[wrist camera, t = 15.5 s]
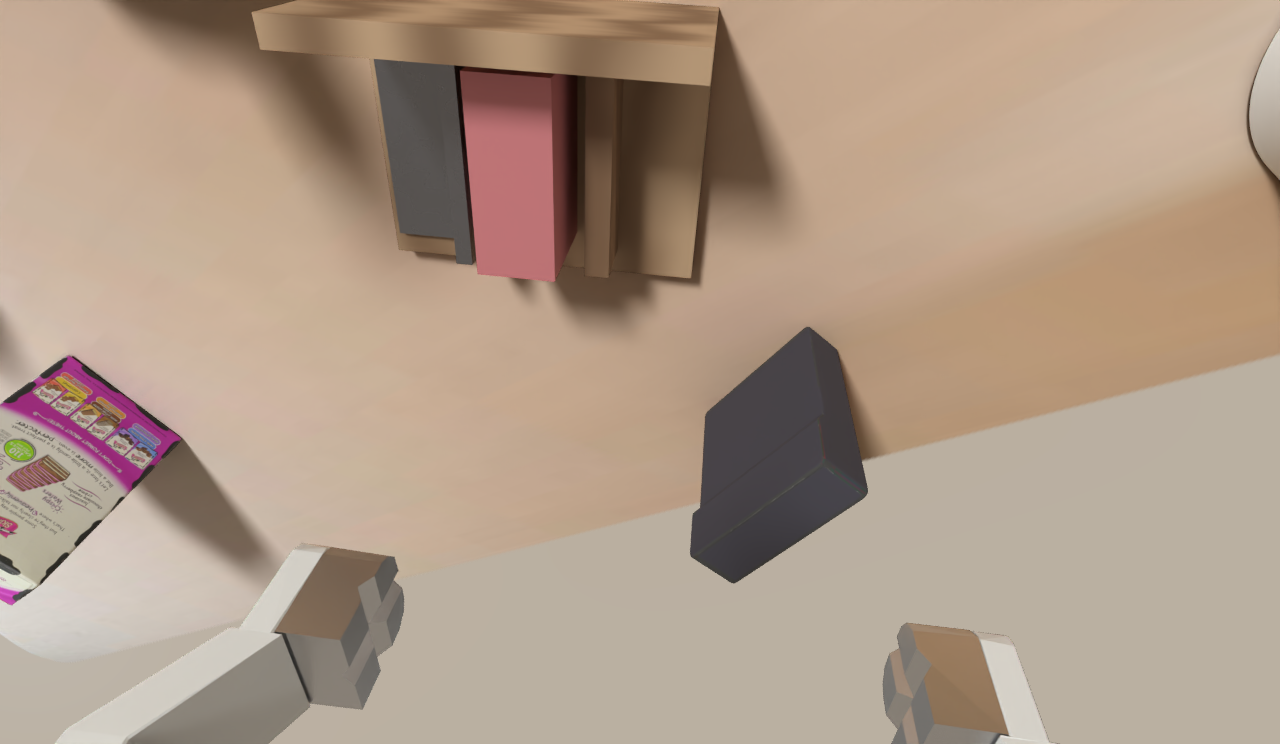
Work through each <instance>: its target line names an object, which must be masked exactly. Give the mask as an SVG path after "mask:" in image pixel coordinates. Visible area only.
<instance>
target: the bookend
mask: <svg viewBox="0 0 1280 744" xmlns="http://www.w3.org/2000/svg"><path fill="white" fill-rule="evenodd" d="M374 65H375V71H376V78H377V84H378V91H379V97H380V104H381V111H382V117H383V124H384V130H385V137H386V143H387V150H388V156H389V163H390V170H391V176H392V183H393V189H394V196H395V202H396V209H397V216H398V222H399V229H400V233H405V234H415V235H426V236H436V237H446V238H454V243H455V252H456V262H457V263H459V264H469V265H473V263H474V262H475V260H476V249H475V238H474V226H473V215H472V204H471V192H470V181H469V170H468V158H467V147H466V135H465V124H464V113H463V101H462V90H461V79H460V70H462V69H463V68H465V67H466V66H456V65H444V64H432V63H419V62H407V61H394V60H382V59H374Z"/></svg>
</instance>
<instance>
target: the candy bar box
mask: <svg viewBox="0 0 1280 744" xmlns="http://www.w3.org/2000/svg"><path fill="white" fill-rule="evenodd" d="M180 440H181V438H180V437H179V436H178V435H177V434H176V433H174V432H173V431H171V430H170V429H169V428H167V427H166V426H165V425H163V424H162V423H161V422H159V421H158V420H157V419H155V418H154V417H153V416H151V415H150V414H148V413H147V412H146V411H145V410H143V409H142V408H140V407H139V406H138V405H136V404H135V403H134V402H132V401H131V400H130V399H128V398H127V397H126V396H124V395H123V394H122V393H120V392H119V391H117V390H116V389H115V388H113V387H112V386H111V385H109V384H108V383H107V382H105V381H104V380H102V379H101V378H100V377H98V376H97V375H96V374H94V373H93V372H92V371H90V370H89V369H87V368H86V367H85V366H83V365H82V364H81V363H79V362H78V361H77V360H75V359H74V358H73V357H71V356H69V355H68V356H66V357H64V358H63V359H61V360H60V361H58V362H57V363H55V364H54V365H53V366H51V367H50V368H49V369H47V370H46V371H44V372H43V373H42V374H40V375H39V376H38V377H36V378H35V379H33V380H32V381H31V382H29V383H28V384H27V385H25V386H24V387H22V388H21V389H20V390H18V391H17V392H15V393H14V394H13V395H11V396H10V397H9V398H7V399H6V400H5V401H3V402H2V403H0V600H2V601H4V602H6V603H7V604H9V605H13V604H14V603H15V602H17V601H18V600H20V599H21V598H22V597H24V596H26V595H27V594H28V593H30V592H31V591H32V590H34V589H35V588H37V587H38V586H39V585H41V584H42V583H43V582H44V581H45V580H46V578H47V577H48V576H49V575H50V574H51V573H52V572H53V571H54V570H55V569H56V568H57V567H58V566H59V565H60V564H61V563H62V562H63V561H64V560H65V559H66V558H67V557H68V556H69V555H70V554H71V553H72V552H73V551H74V550H75V549H76V548H77V546H78V545H79V544H80V543H81V542H82V541H83V540H84V539H85V538H86V537H87V536H88V535H89V534H90V533H91V532H92V531H93V530H94V529H95V528H96V527H97V526H98V525H99V524H100V523H101V522H102V521H103V520H104V519H105V518H106V517H107V516H108V515H109V513H111V512H112V511H113V510H114V509H115V508H116V506H117V505H118V504H119V503H120V502H121V501H122V500H123V499H124V498H125V497H126V496H127V495H128V494H129V493H130V492H131V491H132V490H133V489H134V488H135V487H136V486H137V485H138V484H139V483H140V482H141V481H142V480H143V479H144V478H145V477H146V476H147V475H148V474H149V473H150V472H151V471H152V470H153V469H154V468H155V466H156V465H157V464H158V463H159V462H160V461H161V460H162V459H163V458H165V457H166V456H167V455H168V454H169V453H170V452H171V451H172V450H173V449H174V448H175V446H176V445H177V444H178V443H179V442H180Z"/></svg>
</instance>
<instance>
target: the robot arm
mask: <svg viewBox="0 0 1280 744" xmlns="http://www.w3.org/2000/svg"><path fill="white" fill-rule="evenodd" d="M1249 120H1250V130H1251V136H1252V139H1253V142H1254V145H1255V148H1256V150H1257V152H1258V154H1259V156H1260V157H1261V159H1262V161H1263V162H1264V163H1265V165H1266V166H1267V167H1268V168H1269V169H1270V170H1271V171H1272V172H1273V173H1274V174H1275V176H1276V177H1277V178H1278V179H1279V180H1280V29H1279V31H1278V32H1277V34H1276V35H1275V37H1274V39H1273V40H1272V42H1271V44H1270V46H1269V48H1268V50H1267V52H1266V54H1265V56H1264V58H1263V60H1262V62H1261V65H1260V67H1259V70H1258V73H1257V76H1256V79H1255V82H1254V86H1253V90H1252V95H1251V100H1250V110H1249ZM397 572H398V568H397V565H396V561H395V557H392V556H385V555H379V554H372V553H366V552H359V551H353V550H347V549H340V548H334V547H328V546H320V545H313V544H306V543H301V544H300V545H299V546H297V547H296V548H295V549H293V550H292V551H291V553H290V554H289V556H288V557H287V559H286V560H285V562H284V563H283V564H282V566H281V567H280V569H279V570H278V572H277V573H276V575H275V576H274V578H273V579H272V581H271V582H270V583H269V585H268V586H267V588H266V589H265V591H264V592H263V594H262V595H261V597H260V598H259V600H258V601H257V603H256V604H255V605H254V607H253V608H252V610H251V611H250V613H249V614H248V616H247V617H246V619H245V620H244V622H243V623H242V625H241V626H240V628H236V627H229V628H228V629H226V630H225V631H223V632H221V633H220V634H218V635H216V636H215V637H213V638H212V639H210V640H208V641H207V642H205V643H204V644H202V645H201V646H199V647H197V648H196V649H194V650H193V651H191V652H189V653H188V654H186V655H185V656H183V657H182V658H180V659H178V660H176V661H175V662H173V663H172V664H170V665H168V666H167V667H165V668H164V669H162V670H160V671H159V672H157V673H156V674H154V675H152V676H151V677H149V678H147V679H146V680H144V681H143V682H141V683H139V684H138V685H136V686H135V687H133V688H131V689H130V690H129V691H127V692H125V693H123V694H122V695H120V696H119V697H117V698H115V699H114V700H112V701H111V702H109V703H108V704H106V705H104V706H103V707H101V708H99V709H98V710H96V711H95V712H93V713H91V714H90V715H88V716H86V717H85V718H83V719H82V720H80V721H78V722H77V723H75V724H74V725H72V726H70V727H69V728H67V729H66V730H65V731H64V733H63V734H62V735H61V736H60V738H59V739H58V740H57V741H56V742H55V744H269V743H270V742H271V741H272V740H273V739H274V738H275V737H276V736H277V735H279V734H280V733H281V732H282V731H283V730H284V729H286V728H287V727H288V726H289V725H290V724H291V723H292V722H294V721H295V720H296V719H297V718H298V717H299V716H300V715H301V714H302V713H304V712H305V711H306V710H307V709H308V708H309V707H310V704H309V703H311V704H320V705H328V706H336V707H345V708H354V709H363V707H364V705H365V703H366V701H367V699H368V697H369V695H370V692H371V690H372V688H373V686H374V684H375V681H376V680H377V677H378V675H379V673H380V671H381V670H380V667H379V663H378V659H377V657H378V656H379V655H380V654H382V653H383V652H384V651H386V650H387V649H388V648H390V647H391V646H392V645H393V642H394V640H395V638H396V636H397V633H398V631H399V629H400V625H401V620H402V616H403V612H404V595H403V590H402V588H401V587H400V586H399V585H398V584H397V583H396V582H395V581H394V578H395V576H396V574H397ZM897 639H898V644H899V649H897V650H896V651H894V652H892V653H890V654H889V657H888V659H887V662H886V665H885V669H884V678H883V695H884V696H883V697H884V704H885V711H886V715H887V717H888V718H889V719H890V720H891V721H892V723H893V724H894V725H895V726H896V728H897V729H898V730H897V733H896V735H895V737H894V739H893V741H892V743H891V744H1058V743H1053V742H1050V741H1049V738H1048V736H1047V733H1046V730H1045V728H1044V725H1043V722H1042V719H1041V717H1040V714H1039V711H1038V708H1037V706H1036V703H1035V700H1034V698H1033V695H1032V692H1031V689H1030V687H1029V684H1028V681H1027V679H1026V676H1025V673H1024V670H1023V667H1022V665H1021V662H1020V659H1019V657H1018V654H1017V651H1016V648H1015V646H1014V643H1013V642H1012V641H1011V639H1010V638H1009V637H1008V636H1004V635H998V634H989V633H981V632H971V631H970V630H964V629H956V628H947V627H938V626H930V625H921V624H913V623H906V624H904V625H903V626H901V629H900V631H899V633H898V635H897Z"/></svg>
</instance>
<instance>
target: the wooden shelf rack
mask: <svg viewBox="0 0 1280 744" xmlns="http://www.w3.org/2000/svg"><path fill="white" fill-rule="evenodd" d="M251 13H252V17H253V21H254V26H255V30H256V34H257V38H258V42H259V47H260V50H271V51H283V52H295V53H308V54H320V55H333V56H345V57H357V58H369V60H370V67H371V73H372V80H373V86H374V92H375V99H376V105H377V112H378V118H379V125H380V131H381V137H382V144H383V150H384V157H385V163H386V170H387V176H388V182H389V189H390V195H391V202H392V208H393V215H394V221H395V227H396V234H397V240H398V247H399V250H405V251H415V252H426V253H436V254H446V255H456V252H455V243H454V238H446V237H436V236H426V235H415V234H405V233H400V229H399V222H398V216H397V209H396V202H395V196H394V189H393V183H392V176H391V170H390V163H389V156H388V150H387V143H386V137H385V130H384V124H383V117H382V111H381V104H380V97H379V91H378V84H377V78H376V71H375V65H374V59H382V60H394V61H407V62H419V63H432V64H444V65H456V66H469V67H481V68H493V69H506V70H518V71H531V72H543V73H555V74H568V75H577V234H576V236H575V239H574V241H573V243H572V245H571V247H570V250H569V252H568V254H567V256H566V258H565V261H564V263H563V265H562V266H569V267H579V268H584V276H591V277H601V278H609V275H610V272H611V271H620V272H631V273H641V274H651V275H661V276H672V277H682V278H691V273H692V264H693V254H694V244H695V235H696V225H697V216H698V206H699V197H700V187H701V177H702V168H703V158H704V149H705V139H706V129H707V120H708V110H709V101H710V91H711V81H712V72H713V62H714V53H715V43H716V33H717V24H718V14H719V7H706V6H693V5H679V4H666V3H652V2H639V1H625V0H296V1H292V2H288V3H285V4H281V5H277V6H273V7H269V8H265V9H261V10H258V11H254V12H251Z"/></svg>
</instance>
